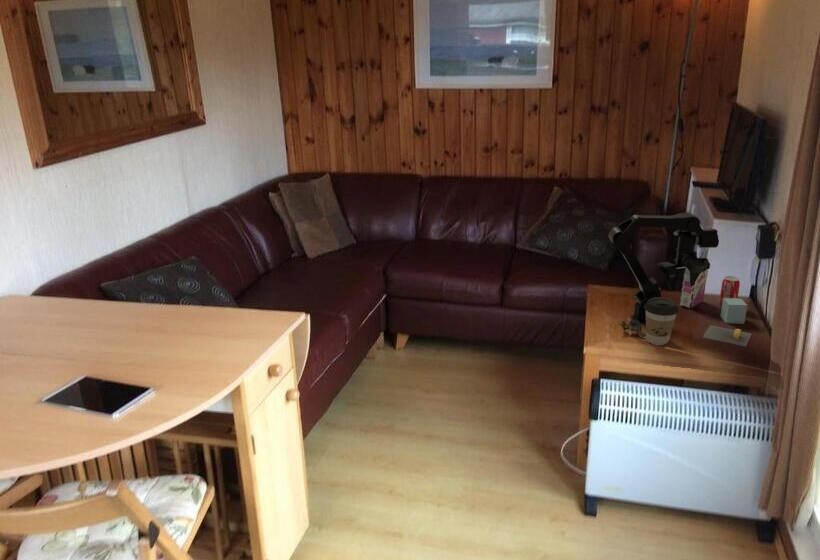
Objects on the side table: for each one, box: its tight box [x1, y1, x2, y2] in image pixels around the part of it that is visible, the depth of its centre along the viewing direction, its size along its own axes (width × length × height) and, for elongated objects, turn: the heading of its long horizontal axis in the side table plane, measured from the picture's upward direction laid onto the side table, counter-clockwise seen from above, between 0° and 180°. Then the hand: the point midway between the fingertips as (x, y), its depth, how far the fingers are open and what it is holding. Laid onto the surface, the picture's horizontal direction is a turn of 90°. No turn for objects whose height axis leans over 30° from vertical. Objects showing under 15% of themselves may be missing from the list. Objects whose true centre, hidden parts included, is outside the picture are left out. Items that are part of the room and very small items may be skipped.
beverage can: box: [718, 275, 741, 308], centre depth 254 cm, size 6×6×12 cm
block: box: [720, 298, 748, 325], centre depth 242 cm, size 6×6×8 cm
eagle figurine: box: [618, 317, 646, 339], centre depth 234 cm, size 8×7×9 cm
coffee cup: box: [644, 297, 679, 346], centre depth 226 cm, size 11×11×15 cm
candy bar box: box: [679, 268, 709, 309], centre depth 257 cm, size 11×5×16 cm, turn 133°
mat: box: [702, 324, 752, 347], centre depth 230 cm, size 14×12×3 cm
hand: (680, 287), depth 241 cm, fingers open, 9 cm apart
